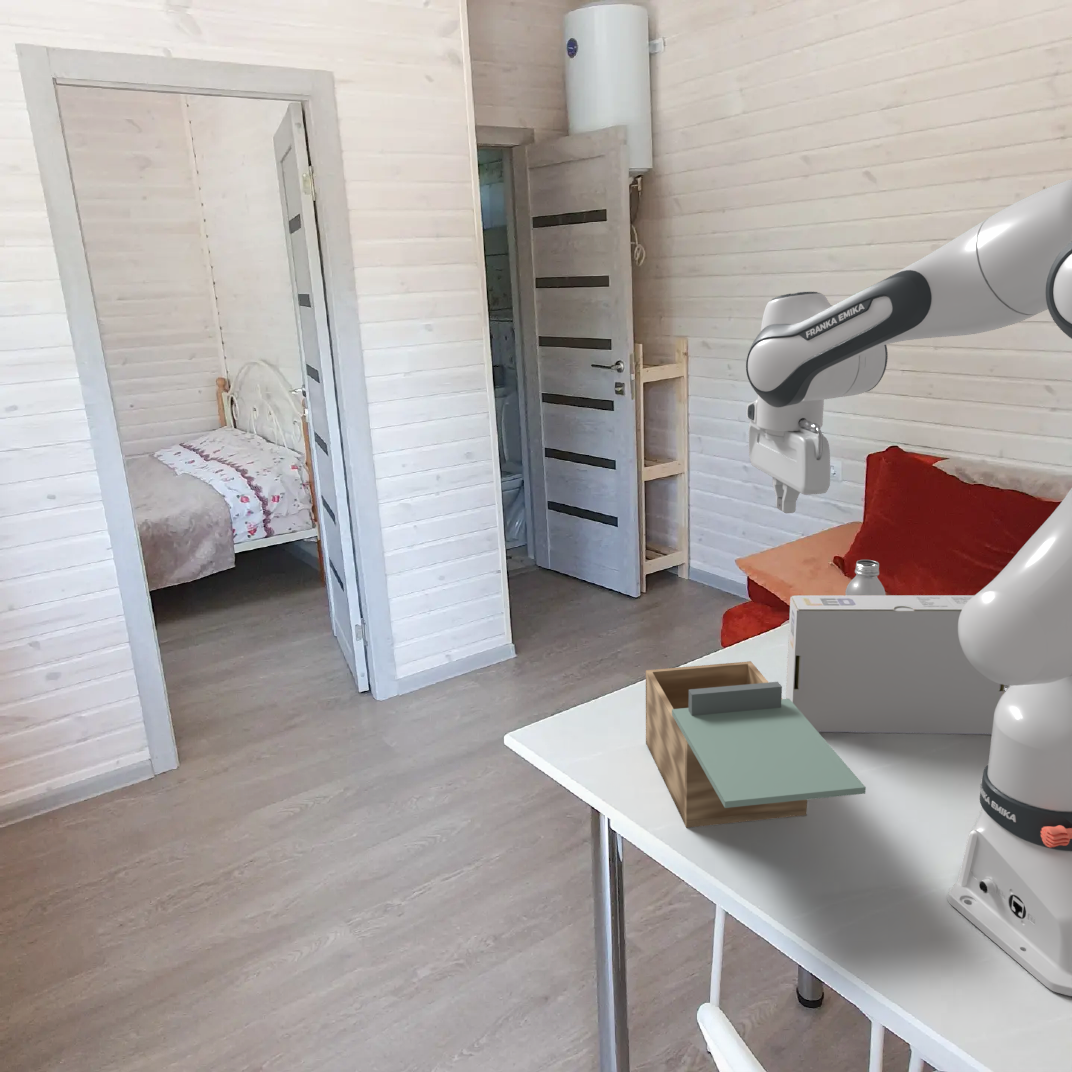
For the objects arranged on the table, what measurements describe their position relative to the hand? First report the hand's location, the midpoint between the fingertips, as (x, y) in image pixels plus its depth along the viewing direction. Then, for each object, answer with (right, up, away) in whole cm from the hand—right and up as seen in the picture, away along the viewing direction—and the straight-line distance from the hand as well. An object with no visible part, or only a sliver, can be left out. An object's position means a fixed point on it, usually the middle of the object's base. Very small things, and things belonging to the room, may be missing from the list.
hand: (785, 510), depth 130 cm
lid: (-8, -30, -19) cm, 36 cm away
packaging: (+19, -33, +11) cm, 39 cm away
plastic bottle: (+21, -27, +29) cm, 45 cm away
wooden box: (-10, -37, -2) cm, 39 cm away
